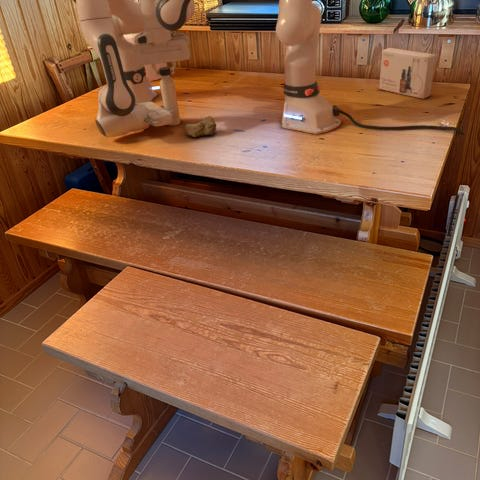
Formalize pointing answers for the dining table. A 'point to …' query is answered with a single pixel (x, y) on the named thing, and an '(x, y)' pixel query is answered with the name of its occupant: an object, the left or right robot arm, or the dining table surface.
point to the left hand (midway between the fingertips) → (173, 108)
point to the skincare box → (407, 72)
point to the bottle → (169, 97)
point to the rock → (202, 127)
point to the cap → (164, 71)
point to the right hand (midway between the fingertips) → (165, 74)
